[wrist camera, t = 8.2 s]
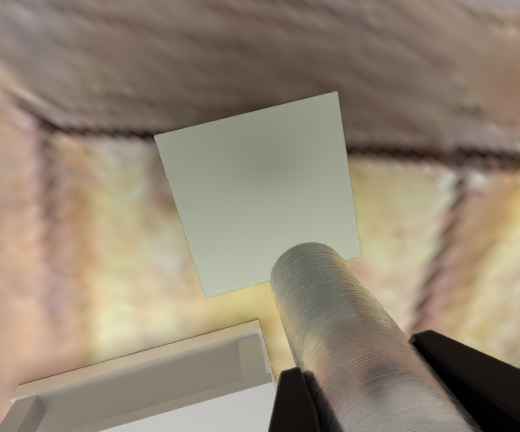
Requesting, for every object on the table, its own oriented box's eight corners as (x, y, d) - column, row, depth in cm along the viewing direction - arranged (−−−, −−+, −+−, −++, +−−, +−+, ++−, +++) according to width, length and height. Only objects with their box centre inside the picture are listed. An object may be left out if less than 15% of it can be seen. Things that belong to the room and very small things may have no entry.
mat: (334, 91, 18) (337, 91, 18) (358, 253, 21) (361, 256, 21) (154, 135, 18) (153, 136, 17) (205, 294, 21) (205, 298, 20)
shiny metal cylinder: (339, 233, 11) (1054, 986, 2) (350, 300, 12) (881, 1065, 3) (262, 253, 11) (580, 1180, 2) (278, 320, 12) (557, 1204, 2)
